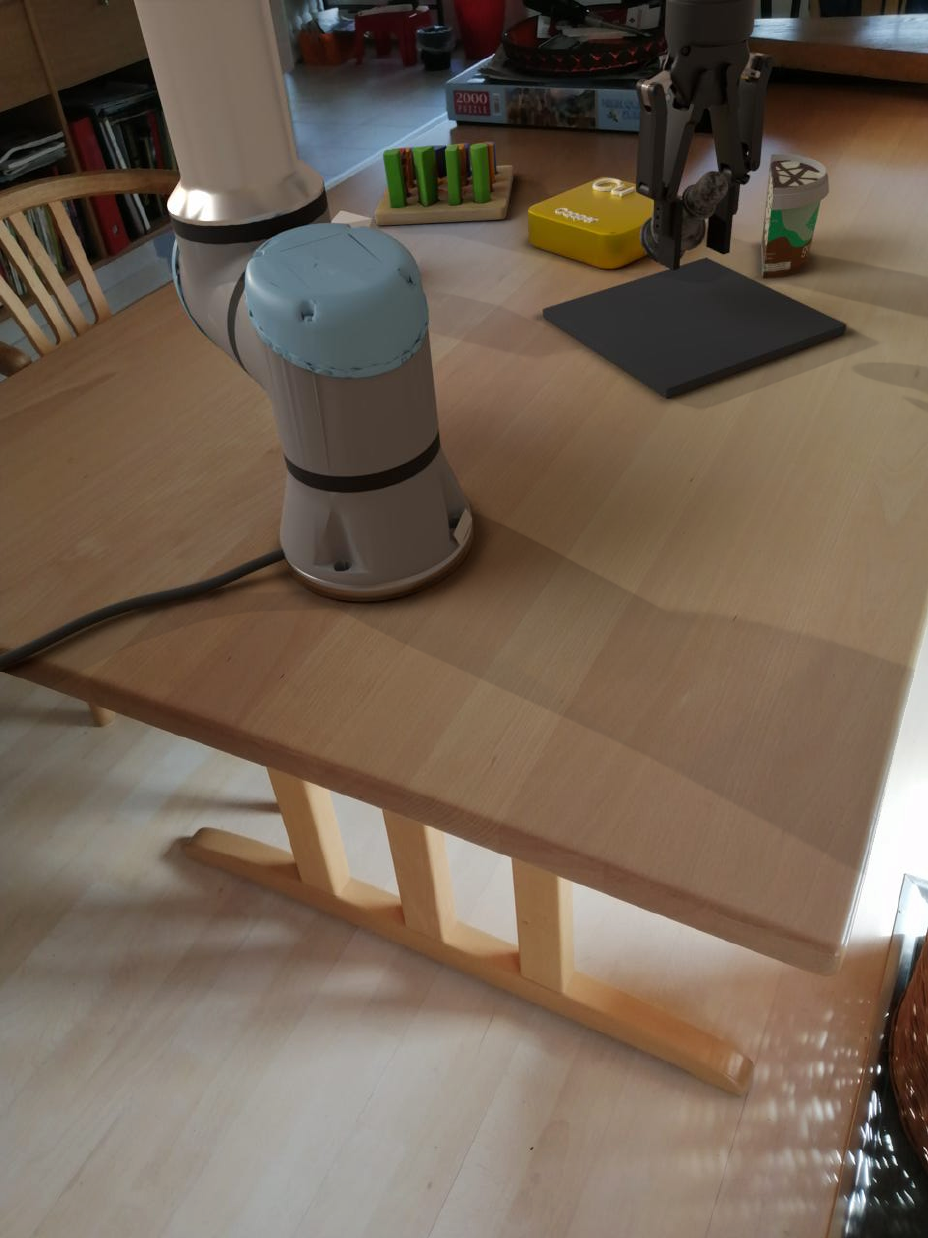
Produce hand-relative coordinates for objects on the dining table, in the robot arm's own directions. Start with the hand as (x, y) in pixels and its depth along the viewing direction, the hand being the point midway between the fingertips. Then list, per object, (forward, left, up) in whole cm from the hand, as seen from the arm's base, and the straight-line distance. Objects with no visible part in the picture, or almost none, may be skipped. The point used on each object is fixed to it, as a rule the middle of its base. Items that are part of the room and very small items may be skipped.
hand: (693, 256), depth 100 cm
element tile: (+7, +25, -7) cm, 27 cm away
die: (-24, +32, -7) cm, 41 cm away
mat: (0, 0, -7) cm, 7 cm away
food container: (+19, +6, -7) cm, 21 cm away
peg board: (-2, +51, -7) cm, 51 cm away
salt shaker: (0, +5, 0) cm, 5 cm away
